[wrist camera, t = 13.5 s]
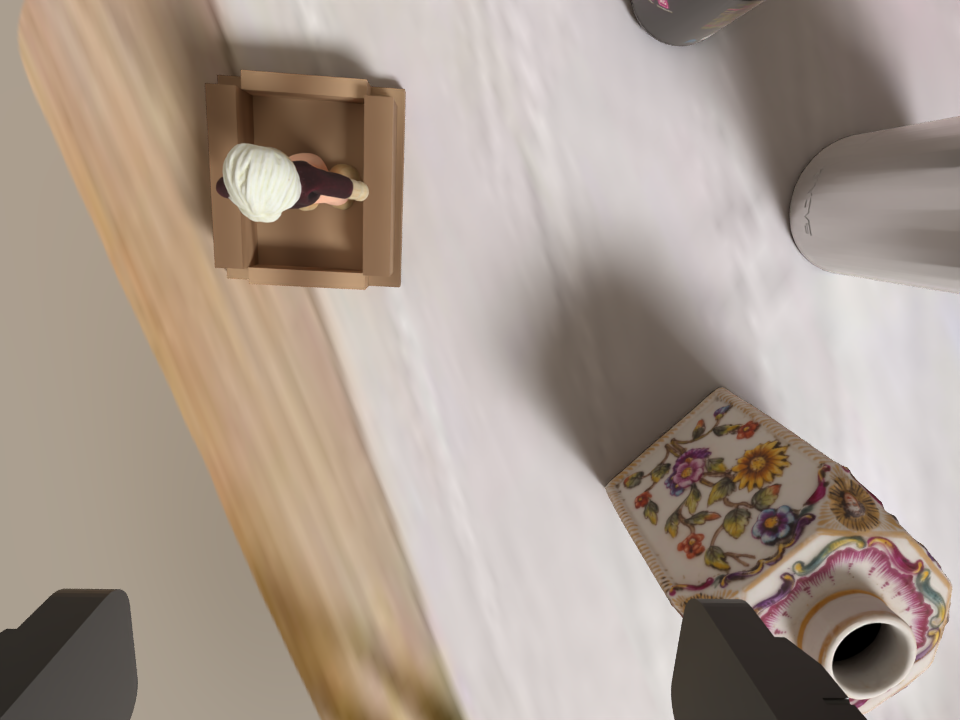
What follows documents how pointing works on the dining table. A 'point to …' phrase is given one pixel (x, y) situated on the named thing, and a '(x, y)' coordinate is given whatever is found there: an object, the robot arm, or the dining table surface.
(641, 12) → the supplement container
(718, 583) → the decorative jar
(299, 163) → the grandmother figurine
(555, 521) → the dining table surface
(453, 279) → the dining table surface
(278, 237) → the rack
